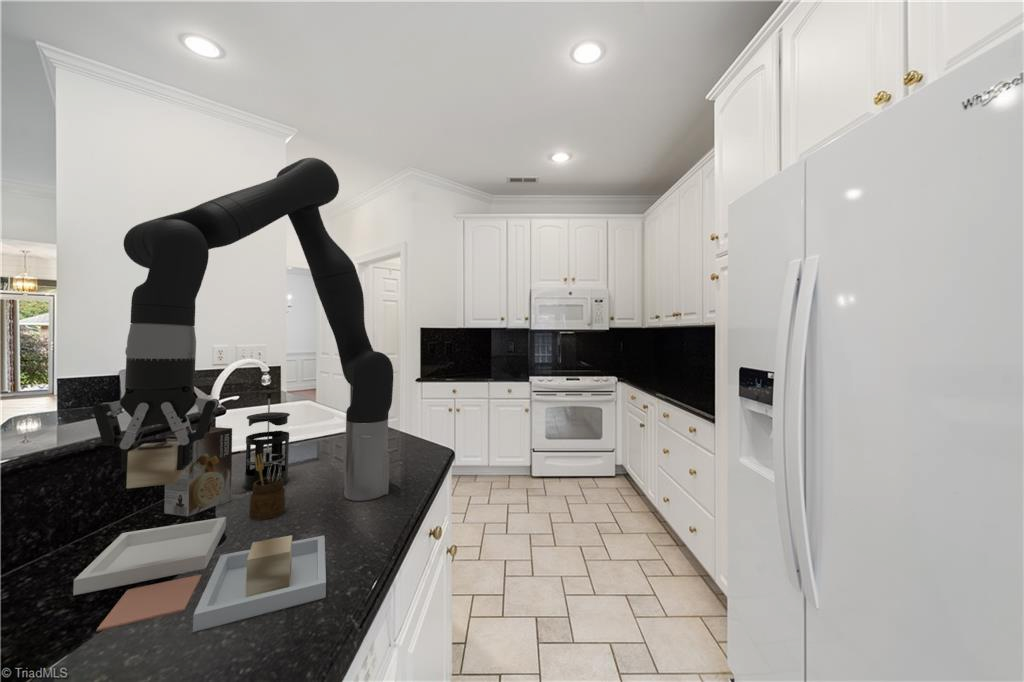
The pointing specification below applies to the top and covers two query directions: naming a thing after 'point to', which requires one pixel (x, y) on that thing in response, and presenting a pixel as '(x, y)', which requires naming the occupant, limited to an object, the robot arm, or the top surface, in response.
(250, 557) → the plain cube
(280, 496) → the utensil holder
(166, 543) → the white tray
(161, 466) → the letter cube
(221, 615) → the blue tray
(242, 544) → the top surface
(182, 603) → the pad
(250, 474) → the french press
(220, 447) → the coffee box
